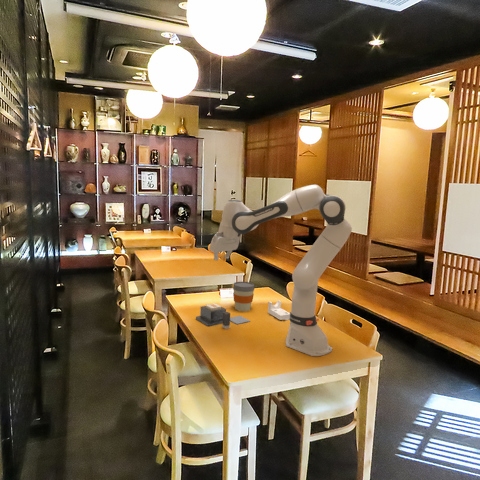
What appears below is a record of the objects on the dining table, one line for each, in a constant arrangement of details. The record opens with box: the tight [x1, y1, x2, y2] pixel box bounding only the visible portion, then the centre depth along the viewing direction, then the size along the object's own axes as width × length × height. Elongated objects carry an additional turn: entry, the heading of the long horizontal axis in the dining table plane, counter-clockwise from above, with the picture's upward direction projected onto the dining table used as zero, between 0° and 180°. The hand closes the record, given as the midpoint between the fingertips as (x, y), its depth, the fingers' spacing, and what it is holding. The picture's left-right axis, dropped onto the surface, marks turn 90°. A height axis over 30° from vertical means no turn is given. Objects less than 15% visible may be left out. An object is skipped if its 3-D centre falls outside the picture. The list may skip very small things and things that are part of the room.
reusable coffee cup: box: [232, 281, 255, 312], centre depth 226 cm, size 13×13×15 cm
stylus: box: [222, 311, 231, 330], centre depth 196 cm, size 3×3×8 cm
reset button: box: [205, 302, 222, 311], centre depth 205 cm, size 6×6×5 cm
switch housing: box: [195, 305, 227, 328], centre depth 205 cm, size 12×14×7 cm
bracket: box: [267, 299, 290, 321], centre depth 217 cm, size 13×7×8 cm, turn 28°
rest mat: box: [230, 315, 251, 326], centre depth 208 cm, size 9×9×1 cm
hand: (221, 259), depth 189 cm, fingers open, 8 cm apart
